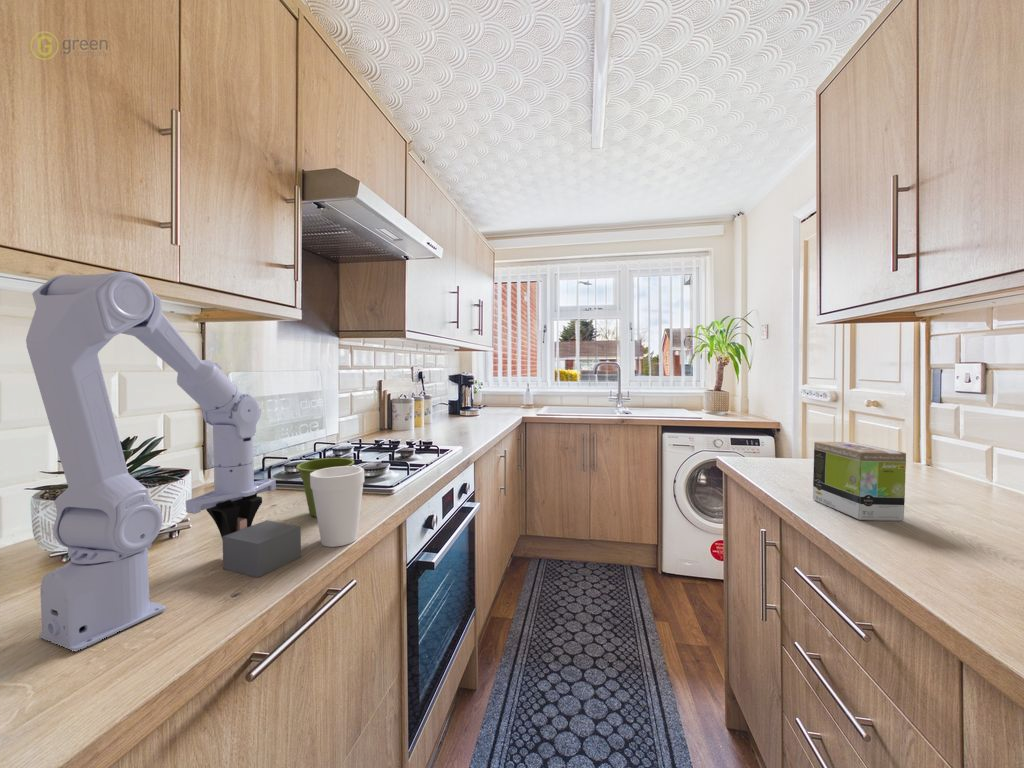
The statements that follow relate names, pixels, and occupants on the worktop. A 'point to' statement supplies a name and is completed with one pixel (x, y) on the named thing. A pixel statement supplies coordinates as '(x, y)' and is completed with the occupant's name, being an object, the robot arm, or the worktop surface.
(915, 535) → the worktop surface
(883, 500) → the tea box
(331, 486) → the foam cup
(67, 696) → the worktop surface
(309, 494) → the plant pot
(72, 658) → the worktop surface
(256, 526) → the grey square box
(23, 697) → the worktop surface
